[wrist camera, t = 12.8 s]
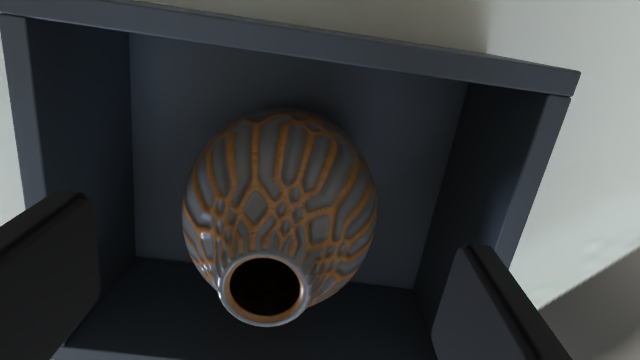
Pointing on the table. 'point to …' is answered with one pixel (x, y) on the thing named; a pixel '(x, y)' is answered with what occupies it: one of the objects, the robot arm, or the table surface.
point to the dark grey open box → (241, 99)
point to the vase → (278, 213)
